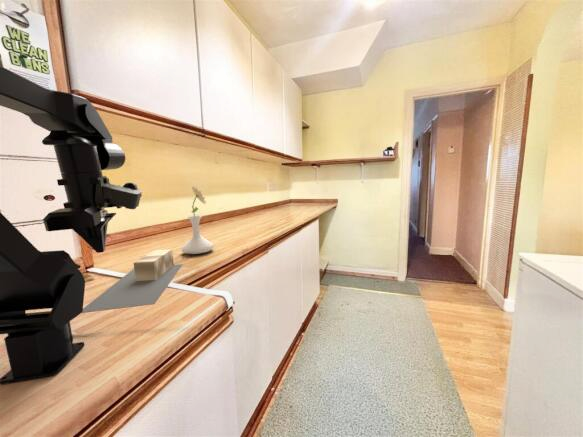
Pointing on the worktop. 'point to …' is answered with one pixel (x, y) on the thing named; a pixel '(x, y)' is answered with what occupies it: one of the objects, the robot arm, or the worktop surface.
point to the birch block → (153, 265)
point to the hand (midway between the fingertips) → (101, 251)
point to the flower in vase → (196, 231)
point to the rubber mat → (132, 291)
